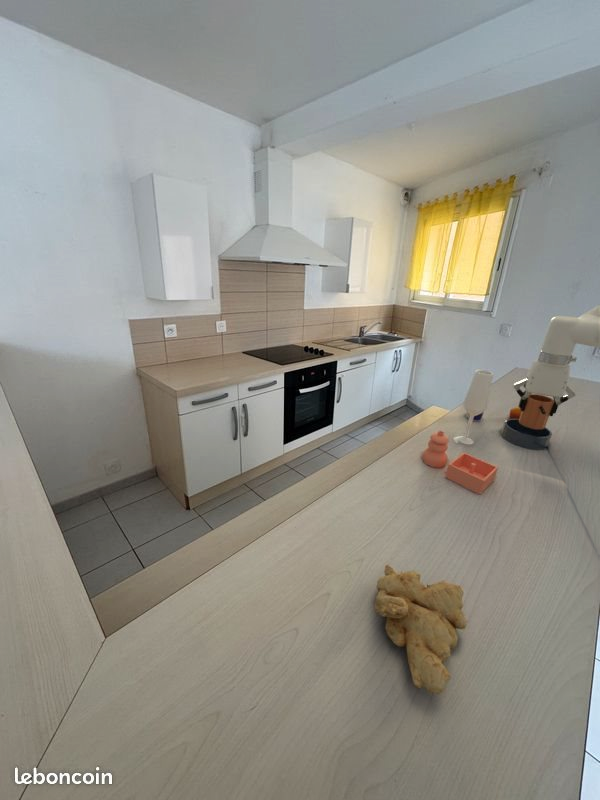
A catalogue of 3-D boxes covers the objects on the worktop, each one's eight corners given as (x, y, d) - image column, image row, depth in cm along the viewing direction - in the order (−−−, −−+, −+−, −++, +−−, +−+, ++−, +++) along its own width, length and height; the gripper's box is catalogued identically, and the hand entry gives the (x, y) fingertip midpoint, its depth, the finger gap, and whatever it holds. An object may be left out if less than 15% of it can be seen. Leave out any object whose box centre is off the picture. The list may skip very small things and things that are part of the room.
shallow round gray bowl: (542, 437, 111) (547, 424, 109) (550, 455, 100) (556, 441, 98) (498, 428, 116) (502, 415, 114) (502, 444, 105) (507, 431, 103)
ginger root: (400, 556, 61) (416, 532, 56) (476, 641, 51) (502, 620, 46) (339, 603, 52) (351, 580, 48) (415, 716, 43) (440, 700, 38)
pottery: (493, 480, 87) (504, 449, 83) (479, 494, 81) (490, 461, 77) (431, 451, 99) (438, 423, 95) (415, 462, 93) (421, 432, 89)
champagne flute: (464, 448, 102) (484, 376, 92) (448, 437, 108) (467, 369, 98) (480, 445, 104) (502, 375, 94) (464, 435, 110) (484, 368, 100)
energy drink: (462, 419, 121) (471, 390, 117) (468, 415, 125) (476, 386, 120) (477, 424, 118) (486, 394, 113) (482, 420, 121) (491, 391, 117)
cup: (541, 422, 107) (550, 396, 104) (550, 438, 97) (560, 410, 94) (517, 417, 110) (525, 392, 106) (522, 432, 100) (532, 405, 96)
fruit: (514, 425, 115) (516, 403, 116) (504, 427, 123) (506, 406, 124) (539, 428, 114) (541, 406, 115) (528, 430, 121) (529, 409, 122)
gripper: (585, 359, 97) (565, 413, 104) (518, 352, 103) (503, 403, 110) (594, 366, 90) (571, 422, 97) (522, 357, 97) (505, 411, 104)
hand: (535, 411), depth 104 cm, fingers closed on cup, 7 cm apart
